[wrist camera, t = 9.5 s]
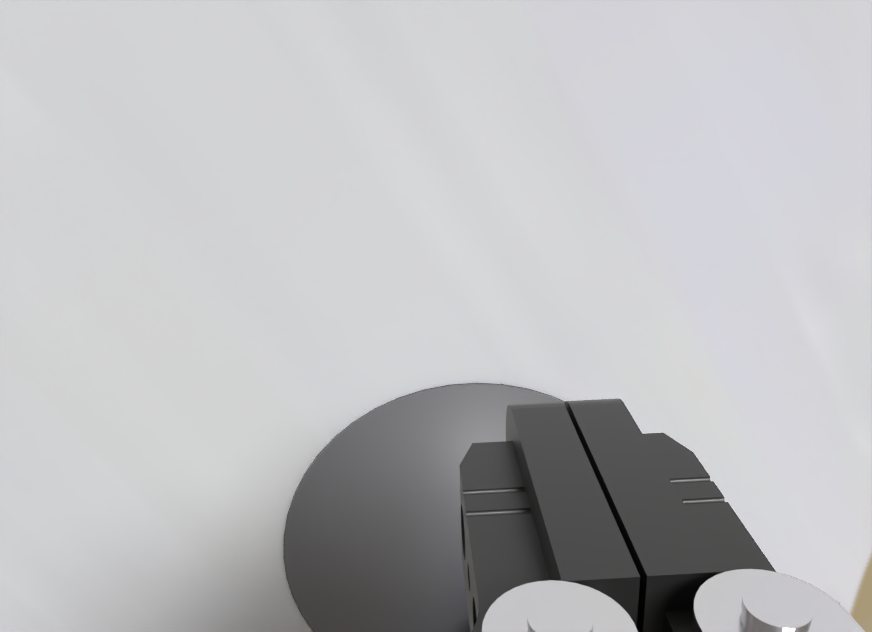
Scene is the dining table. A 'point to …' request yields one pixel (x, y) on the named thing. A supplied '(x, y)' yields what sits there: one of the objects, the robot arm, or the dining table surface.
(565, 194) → the dining table surface
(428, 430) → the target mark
